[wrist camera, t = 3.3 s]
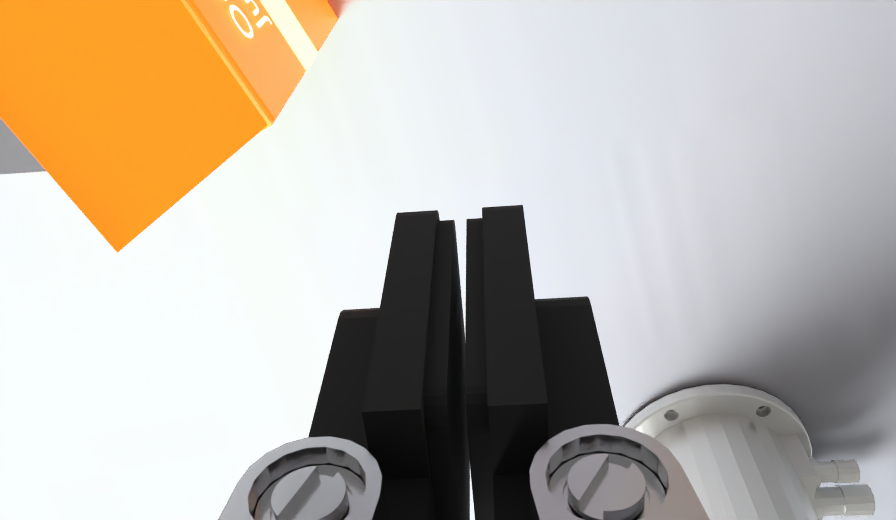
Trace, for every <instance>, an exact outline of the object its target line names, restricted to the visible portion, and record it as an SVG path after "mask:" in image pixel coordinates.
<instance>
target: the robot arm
mask: <svg viewBox="0 0 896 520" xmlns="http://www.w3.org/2000/svg"><path fill="white" fill-rule="evenodd" d="M470 469H471V479H472V490H473V501H474V511H475V520H822V518H823V516H832V515H840V516H841V517H853V516H871V515H873V514H874V511H875V501H874V495H873V493H872V491H871V488H870V487H869V486H868V485H867V484H849V485H835V487H819V486H820V484H821V482H834V483H851V482H858V481H859V480H860V470H859V466H858V464H857V462H856V461H855V460H831V462H817V460H816V459H815V458H814V457H812V446H811V443H810V439H809V436H808V434H807V432H806V430H805V428H804V426H803V424H802V422H801V420H800V419H799V418H798V416H797V415H796V414H795V413H794V411H793V410H792V409H791V408H790V407H789V406H787V405H786V404H785V403H783V402H782V401H781V400H780V399H778V398H776V397H774V396H772V395H770V394H768V393H766V392H764V391H761V390H757V389H754V388H750V387H746V386H739V385H729V384H717V385H703V386H698V387H693V388H687V389H684V390H681V391H678V392H675V393H672V394H669V395H667V396H665V397H663V398H661V399H659V400H657V401H655V402H653V403H651V404H649V405H648V406H647V407H645V408H644V409H643V410H641V411H640V412H639V413H637V414H636V415H635V416H634V417H633V418H632V419H631V420H630V421H629V422H628V423H627V424H626V425H625V426H624V427H622V426H619V422H618V418H617V414H616V410H615V405H614V401H613V397H612V393H611V388H610V384H609V380H608V376H607V371H606V367H605V363H604V358H603V354H602V350H601V346H600V341H599V337H598V333H597V329H596V324H595V320H594V316H593V312H592V307H591V304H590V300H589V298H588V297H570V298H552V299H534V291H533V283H532V275H531V267H530V259H529V251H528V243H527V235H526V227H525V219H524V212H523V205H516V206H500V207H484V208H482V218H478V219H467V236H466V344H465V333H464V321H463V310H462V299H461V287H460V276H459V265H458V253H457V242H456V231H455V222H454V220H446V221H440V220H439V213H438V210H436V211H420V212H404V213H397V215H396V219H395V225H394V231H393V237H392V242H391V248H390V254H389V259H388V265H387V271H386V276H385V282H384V288H383V293H382V299H381V305H380V308H371V309H353V310H343V311H342V312H341V313H340V316H339V318H338V322H337V326H336V330H335V334H334V338H333V342H332V346H331V350H330V354H329V358H328V362H327V366H326V370H325V374H324V378H323V382H322V385H321V389H320V393H319V397H318V401H317V405H316V409H315V413H314V417H313V421H312V425H311V429H310V433H309V437H308V438H304V439H301V440H297V441H293V442H289V443H286V444H284V445H282V446H280V447H278V448H276V449H274V450H272V451H270V452H268V453H266V454H265V455H264V456H263V457H261V458H260V459H259V460H258V461H256V462H255V463H254V464H253V465H251V466H250V467H249V468H248V470H247V471H246V472H245V474H244V475H243V477H242V478H241V479H240V481H239V482H238V483H237V485H236V487H235V489H234V491H233V493H232V495H231V496H230V498H229V500H228V502H227V504H226V506H225V508H224V510H223V512H222V513H221V515H220V517H219V519H218V520H470Z"/></svg>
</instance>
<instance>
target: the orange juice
mask: <svg viewBox="0 0 896 520" xmlns="http://www.w3.org/2000/svg"><path fill="white" fill-rule="evenodd" d="M337 21H338V17H337V16H336V14H335V13H334V11H333V9H332V8H331V6H330V4H329V3H328V1H327V0H0V118H1V119H2V120H3V121H4V122H5V123H6V125H7V126H8V127H9V128H10V129H11V130H12V132H13V133H14V134H15V135H16V136H17V137H18V138H19V140H20V141H21V142H22V143H23V144H24V145H25V147H26V148H27V149H28V150H29V151H30V152H31V153H32V155H33V156H34V157H35V158H36V159H37V160H38V161H39V163H40V164H41V165H42V166H43V167H44V168H45V170H46V171H47V172H48V173H49V174H50V175H51V176H52V178H53V179H54V180H55V181H56V182H57V183H58V185H59V186H60V187H61V188H62V189H63V190H64V191H65V193H66V194H67V195H68V196H69V197H70V198H71V200H72V201H73V202H74V203H75V204H76V205H77V206H78V208H79V209H80V210H81V211H82V212H83V213H84V215H85V216H86V217H87V218H88V219H89V220H90V221H91V223H92V224H93V225H94V226H95V227H96V228H97V230H98V231H99V232H100V233H101V234H102V235H103V236H104V238H105V239H106V240H107V241H108V242H109V243H110V244H111V246H112V247H113V248H114V249H115V250H116V251H117V252H118V251H120V250H121V249H122V248H123V247H124V246H126V245H127V244H128V243H129V242H130V241H131V240H133V239H134V238H135V237H136V236H137V235H139V234H140V233H141V232H142V231H143V230H144V229H146V228H147V227H148V226H149V225H150V224H152V223H153V222H154V221H155V220H156V219H157V218H159V217H160V216H161V215H162V214H163V213H164V212H166V211H167V210H168V209H169V208H170V207H172V206H173V205H174V204H175V203H176V202H177V201H179V200H180V199H181V198H182V197H183V196H185V195H186V194H187V193H188V192H189V191H190V190H192V189H193V188H194V187H195V186H196V185H197V184H199V183H200V182H201V181H202V180H203V179H205V178H206V177H207V176H208V175H209V174H210V173H212V172H213V171H214V170H215V169H216V168H218V167H219V166H220V165H221V164H222V163H223V162H225V161H226V160H227V159H228V158H229V157H231V156H232V155H233V154H234V153H235V152H236V151H238V150H239V149H240V148H241V147H242V146H243V145H245V144H246V143H247V142H248V141H249V140H251V139H252V138H253V137H254V136H255V135H256V134H258V133H259V132H260V131H262V130H264V129H266V128H267V127H269V126H271V125H272V124H273V123H274V121H275V120H276V118H277V116H278V115H279V113H280V112H281V110H282V108H283V107H284V105H285V104H286V102H287V100H288V99H289V97H290V96H291V94H292V92H293V91H294V89H295V88H296V86H297V84H298V83H299V81H300V80H301V78H302V76H303V75H304V73H305V72H307V71H308V70H309V68H310V66H311V65H312V63H313V61H314V60H315V58H316V57H317V55H318V51H319V49H320V48H321V46H322V45H323V43H324V41H325V40H326V38H327V37H328V35H329V33H330V32H331V30H332V29H333V27H334V25H335V24H336V22H337Z"/></svg>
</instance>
